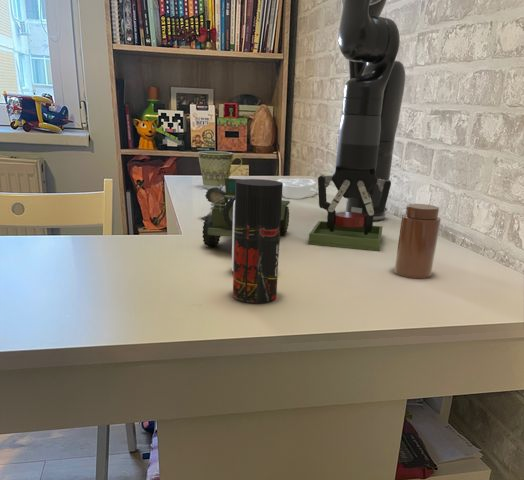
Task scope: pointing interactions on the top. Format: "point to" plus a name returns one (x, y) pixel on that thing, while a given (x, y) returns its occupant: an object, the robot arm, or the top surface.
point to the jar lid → (350, 219)
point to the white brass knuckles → (298, 188)
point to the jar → (417, 241)
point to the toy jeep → (231, 217)
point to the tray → (346, 236)
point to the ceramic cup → (216, 167)
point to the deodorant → (256, 239)
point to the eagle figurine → (214, 197)
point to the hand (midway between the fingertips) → (349, 232)
